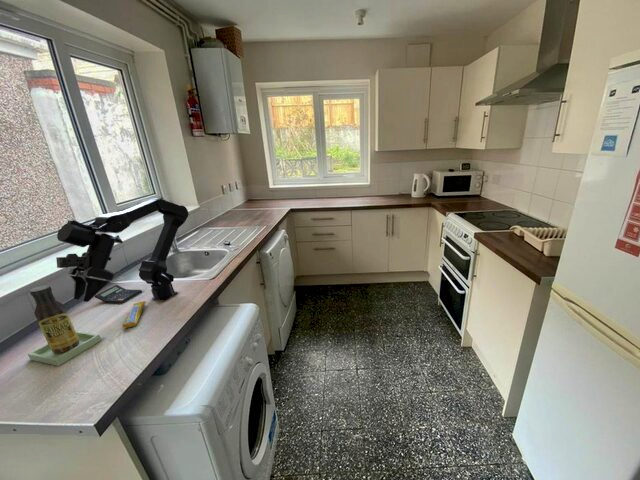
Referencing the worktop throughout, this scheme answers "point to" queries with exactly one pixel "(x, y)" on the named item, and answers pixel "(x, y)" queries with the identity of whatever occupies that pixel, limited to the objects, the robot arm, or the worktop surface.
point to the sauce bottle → (54, 320)
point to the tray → (49, 357)
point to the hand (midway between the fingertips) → (80, 300)
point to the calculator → (117, 294)
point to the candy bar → (134, 314)
